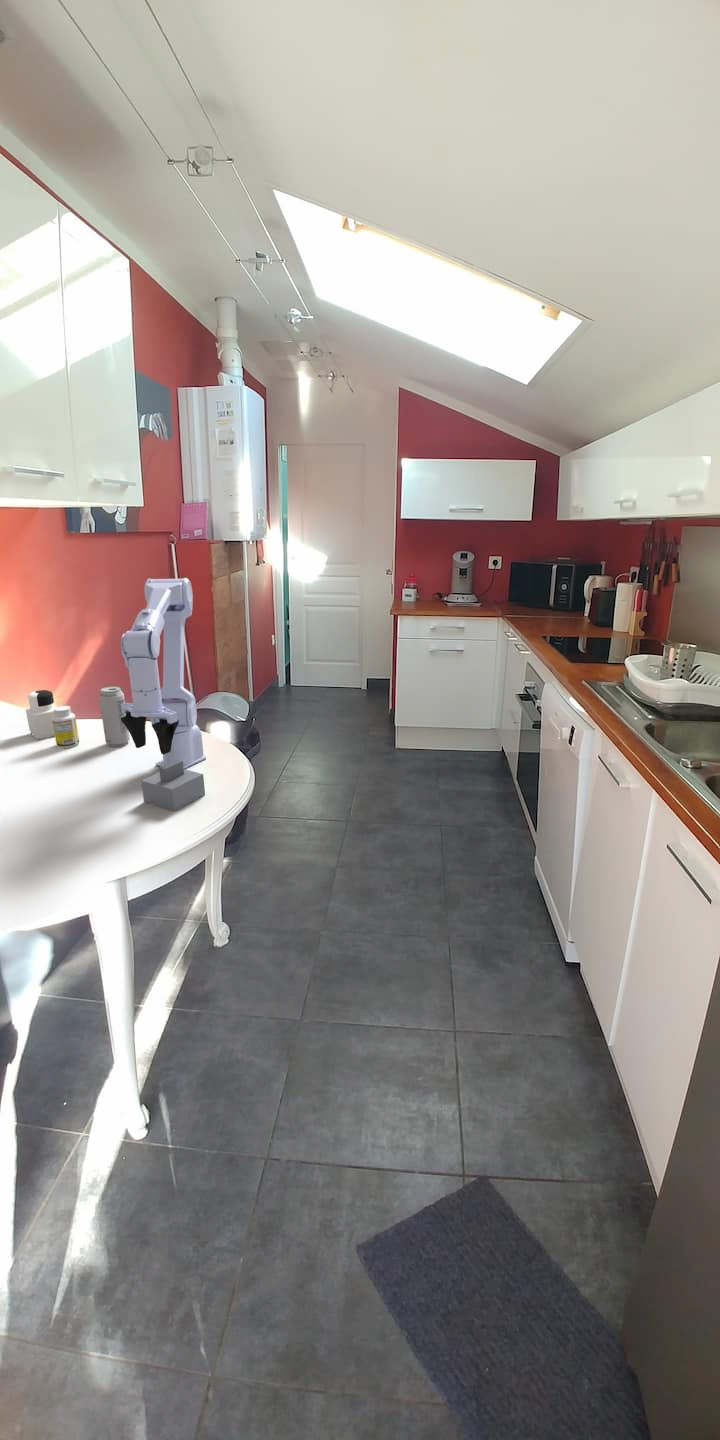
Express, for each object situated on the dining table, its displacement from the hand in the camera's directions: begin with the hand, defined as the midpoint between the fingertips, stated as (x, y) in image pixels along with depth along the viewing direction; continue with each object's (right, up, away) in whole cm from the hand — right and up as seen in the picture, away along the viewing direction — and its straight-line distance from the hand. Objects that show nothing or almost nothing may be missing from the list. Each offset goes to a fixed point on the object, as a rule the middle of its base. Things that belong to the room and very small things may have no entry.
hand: (153, 749), depth 143 cm
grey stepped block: (+4, -10, +1) cm, 11 cm away
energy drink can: (-19, 0, +33) cm, 39 cm away
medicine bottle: (-42, +2, +42) cm, 59 cm away
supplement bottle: (-32, 0, +33) cm, 46 cm away
